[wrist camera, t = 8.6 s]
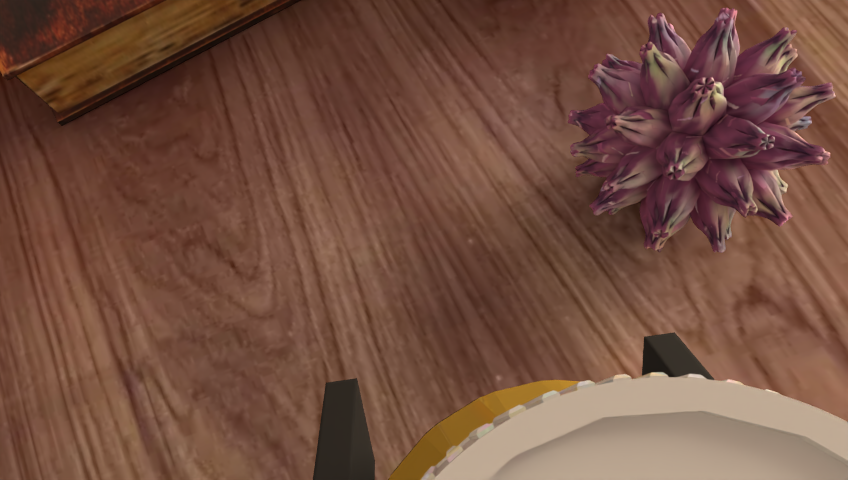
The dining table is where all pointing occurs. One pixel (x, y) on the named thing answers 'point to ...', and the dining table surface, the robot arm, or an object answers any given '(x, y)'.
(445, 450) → the bottle
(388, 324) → the dining table surface
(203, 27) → the book
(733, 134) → the flower
